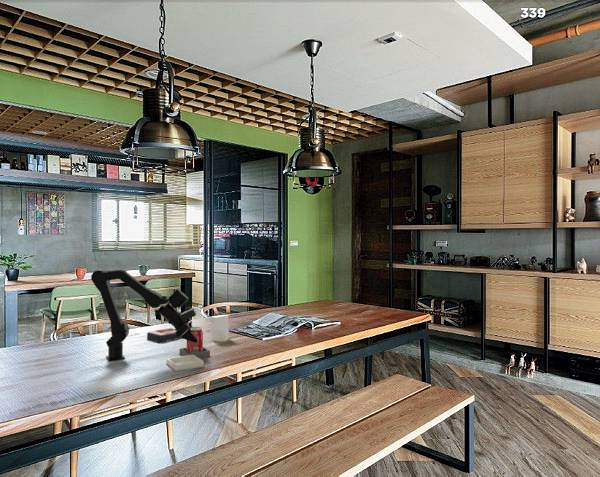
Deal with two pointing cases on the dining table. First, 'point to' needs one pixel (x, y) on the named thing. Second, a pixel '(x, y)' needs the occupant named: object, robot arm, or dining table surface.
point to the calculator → (162, 335)
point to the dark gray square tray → (198, 354)
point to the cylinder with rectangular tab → (219, 328)
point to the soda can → (198, 345)
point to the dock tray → (184, 362)
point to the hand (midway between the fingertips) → (197, 339)
